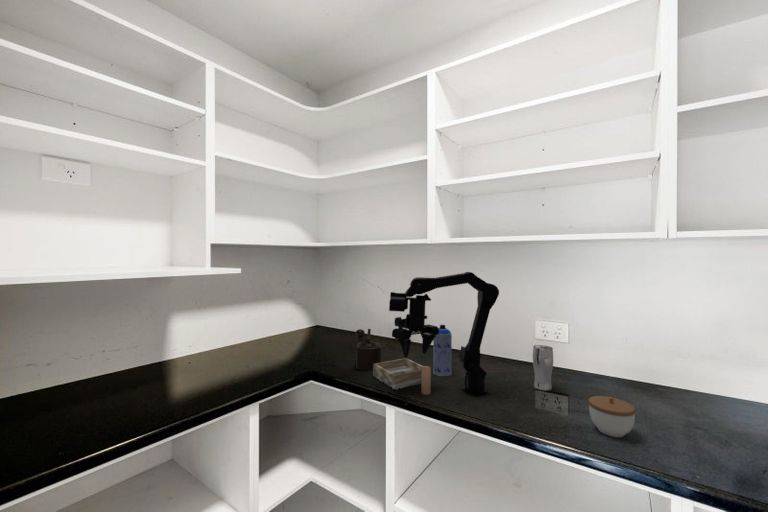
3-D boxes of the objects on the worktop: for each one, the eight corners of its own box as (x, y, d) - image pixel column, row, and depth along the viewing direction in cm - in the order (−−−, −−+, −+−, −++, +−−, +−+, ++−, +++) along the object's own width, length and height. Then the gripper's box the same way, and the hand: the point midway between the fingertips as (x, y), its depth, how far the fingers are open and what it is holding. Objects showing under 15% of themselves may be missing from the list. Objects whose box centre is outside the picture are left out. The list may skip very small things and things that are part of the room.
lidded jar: (608, 443, 87) (608, 406, 87) (579, 422, 97) (580, 390, 97) (645, 441, 88) (645, 405, 88) (613, 421, 98) (613, 389, 98)
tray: (429, 381, 129) (429, 368, 129) (394, 389, 121) (394, 375, 121) (405, 369, 143) (405, 358, 143) (373, 376, 134) (373, 363, 134)
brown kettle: (355, 362, 152) (355, 323, 152) (379, 362, 153) (379, 323, 153) (354, 374, 136) (354, 330, 137) (381, 374, 137) (381, 330, 137)
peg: (432, 393, 118) (432, 368, 118) (425, 395, 116) (425, 369, 116) (426, 390, 120) (426, 365, 120) (419, 392, 119) (419, 366, 119)
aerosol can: (455, 373, 139) (455, 325, 139) (444, 377, 133) (444, 327, 134) (440, 368, 145) (440, 322, 145) (428, 372, 139) (429, 324, 139)
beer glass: (555, 391, 120) (555, 350, 120) (535, 390, 121) (535, 349, 121) (550, 384, 127) (550, 345, 127) (530, 383, 128) (530, 344, 128)
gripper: (419, 307, 132) (417, 346, 132) (383, 310, 121) (381, 353, 121) (440, 312, 124) (438, 354, 124) (403, 315, 112) (401, 361, 112)
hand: (415, 355), depth 120 cm, fingers open, 9 cm apart
